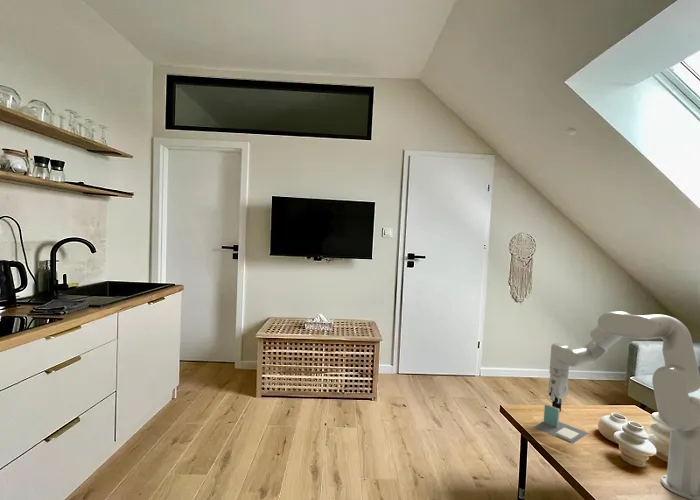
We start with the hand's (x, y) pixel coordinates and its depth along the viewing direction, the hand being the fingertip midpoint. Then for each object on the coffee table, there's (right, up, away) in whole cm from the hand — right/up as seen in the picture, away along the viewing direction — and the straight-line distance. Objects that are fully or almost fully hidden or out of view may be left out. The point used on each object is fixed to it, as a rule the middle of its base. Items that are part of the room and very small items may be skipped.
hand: (556, 410), depth 171 cm
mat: (-2, -6, -8) cm, 10 cm away
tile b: (-4, -5, -2) cm, 7 cm away
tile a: (+1, -5, -10) cm, 11 cm away
